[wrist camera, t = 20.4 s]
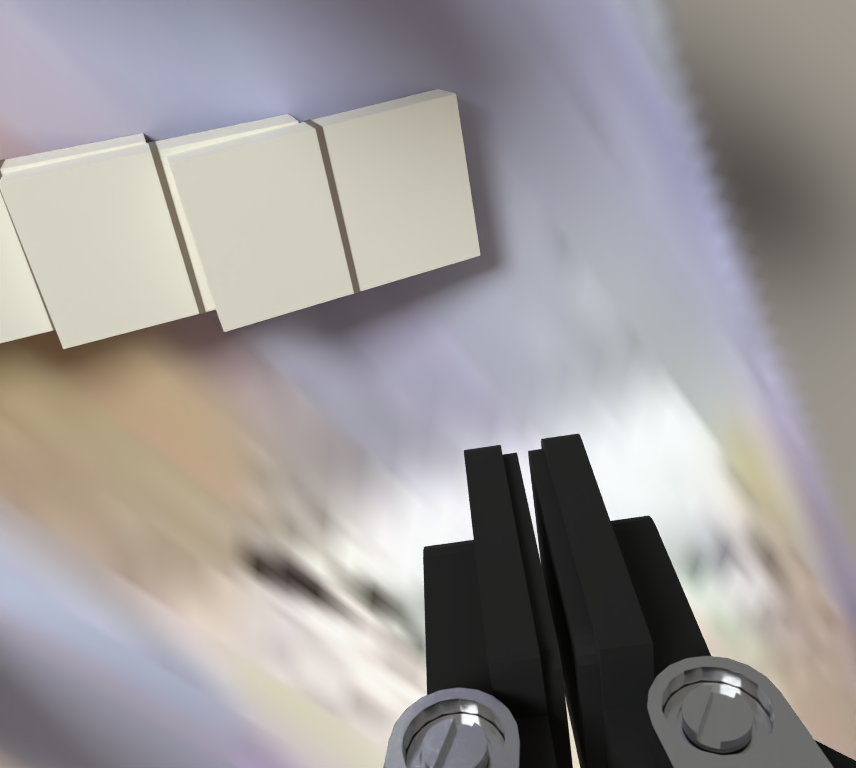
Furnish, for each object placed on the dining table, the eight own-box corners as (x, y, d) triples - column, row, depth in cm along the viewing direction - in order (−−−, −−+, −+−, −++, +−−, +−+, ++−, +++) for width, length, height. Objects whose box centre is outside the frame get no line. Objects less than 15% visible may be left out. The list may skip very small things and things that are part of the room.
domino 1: (186, 283, 34) (-79, 346, 31) (143, 132, 31) (-153, 189, 28) (190, 297, 32) (-89, 365, 30) (145, 140, 29) (-168, 201, 27)
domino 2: (320, 266, 33) (65, 331, 31) (287, 113, 30) (3, 172, 28) (331, 279, 32) (63, 349, 29) (298, 120, 29) (-3, 183, 26)
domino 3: (462, 243, 33) (217, 315, 31) (437, 88, 30) (165, 155, 28) (480, 256, 31) (224, 332, 29) (456, 93, 29) (169, 164, 26)
